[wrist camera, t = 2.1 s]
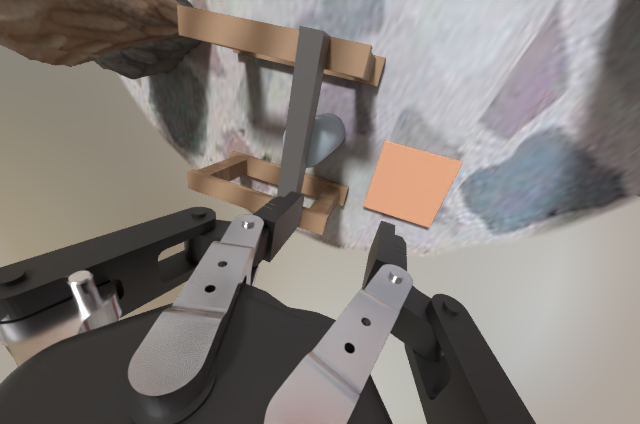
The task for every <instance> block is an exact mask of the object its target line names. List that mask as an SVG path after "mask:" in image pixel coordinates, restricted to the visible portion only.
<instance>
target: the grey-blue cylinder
mask: <svg viewBox="0 0 640 424" xmlns="http://www.w3.org/2000/svg"><path fill="white" fill-rule="evenodd" d="M285 133H286V130H285V132H284V135H283V141H282V143H283V148H284V141H285ZM344 138H345V127H344V124H343V122H342V121H341V119H340V118H339V117H337V116H336V115H334V114H328V113H327V114H322V115H318V116H315V122H314V127H313V132H312V138H311V143H310V148H309V154H308V159H307V165H306V168H309V167H313V166H315V165H317V164H318V163H320V162H321V161H322V160H323V159H324V158H326V157H327V156H328V155H329V154H330V153H332V152H333V151H334V150H335V149H336V148H338V147H339V146H340V145H341V144H342V142H343V140H344Z"/></svg>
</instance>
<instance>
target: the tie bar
mask: <svg viewBox="0 0 640 424" xmlns="http://www.w3.org/2000/svg"><path fill="white" fill-rule="evenodd" d="M329 41H330V36H329V35H328V34H327V33H326V32H324V31H321V30H316V29H312V28H307V27H302V26H300V29H299V36H298V44H297V51H296V58H295V66H294V73H293V81H292V88H291V96H290V103H289V111H288V118H287V126H286V133H285V141H284V148H283V155H282V163H281V170H280V178H279V185H278V193H277V197H279V196H282V197H285V196H286V195H287V194H288V193H289V192H291V191H293V192H296V193H299V194H301V191H302V186H303V181H304V175H305V170H306V165H307V159H308V154H309V148H310V143H311V138H312V132H313V127H314V122H315V116H316V111H317V106H318V100H319V95H320V90H321V84H322V79H323V74H324V68H325V63H326V58H327V52H328V47H329Z"/></svg>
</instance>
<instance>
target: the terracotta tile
mask: <svg viewBox="0 0 640 424" xmlns="http://www.w3.org/2000/svg"><path fill="white" fill-rule="evenodd" d="M461 165H462V161H459V160H455V159H452V158H448V157H444V156H441V155H437V154H433V153H430V152H426V151H422V150H419V149H415V148H411V147H408V146H404V145H400V144H397V143H393V142H389V141H386V140H385V143H384V146H383V148H382V151H381V154H380V157H379V160H378V163H377V166H376V169H375V172H374V175H373V178H372V181H371V184H370V187H369V190H368V193H367V196H366V199H365V202H364V205H363V207H366V208H369V209H373V210H376V211H379V212H382V213H385V214H388V215H391V216H394V217H397V218H400V219H403V220H407V221H410V222H413V223H416V224H419V225H422V226H425V227H428V228H429V227H430V225H431V223H432V221H433V219H434V217H435V216H436V214H437V212H438V210H439V208H440V206H441V204H442V202H443V200H444V198H445V196H446V194H447V192H448V190H449V188H450V186H451V184H452V182H453V180H454V178H455V176H456V175H457V173H458V171H459V169H460V167H461Z"/></svg>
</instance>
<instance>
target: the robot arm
mask: <svg viewBox="0 0 640 424" xmlns="http://www.w3.org/2000/svg"><path fill="white" fill-rule="evenodd" d="M303 202H304V195H302V194H299V193H296V192H293V191H291V192H289V193H288V194H287V195H286V196H285V197H282V196H279V197H275V198H273V199H271V200H270V201H269V202H268V203H266V204H265V205H264V206H263V207H261V208H260V209H259V210H258V211H256V212H255V213H254V214H253V215H251V214H244V215H239V216H237V217H235V218H234V219H233V221H232V222H230V221H222V220H216V213H215V212H214V211H213V210H212V209H209V208H206V207H193V208H189V209H186V210H183V211H180V212H176V213H173V214H170V215H167V216H163V217H161V218H157V219H154V220H151V221H148V222H145V223H141V224H138V225H135V226H132V227H128V228H126V229H122V230H119V231H116V232H112V233H109V234H106V235H103V236H100V237H97V238H93V239H90V240H87V241H84V242H81V243H77V244H75V245H71V246H68V247H65V248H62V249H58V250H55V251H52V252H49V253H46V254H42V255H39V256H36V257H33V258H30V259H26V260H23V261H20V262H17V263H14V264H10V265H8V266H4V267H1V268H0V343H1V344H2V345H4V346H5V347H6V348H7V349H8V351H9V352H10V353H11V355H12V356H13V358H14V360H15V362H16V364H17V366H18V368H16V369H15V370H14V371H13V372H12V373H11V374H10V375H9V376H8V377H7V378H6V379H5V380H4V381H3V382H2V383H1V384H0V424H393V423H392V421H391V419H390V417H389V415H388V412H387V410H386V408H385V406H384V403H383V402H382V399H381V397H380V395H379V393H378V390H377V388H376V386H375V384H374V382H373V379H372V377H371V375H370V373H371V371H372V369H373V367H374V364H375V363H376V360H377V358H378V356H379V354H380V352H381V350H382V348H383V346H384V344H385V342H386V340H387V338H388V336H389V334H390V333H391V334H393V335H394V336H395V337H397V338H398V339H399V340H401V341H402V342H404V343H405V350H406V354H407V357H408V360H409V364H410V367H411V370H412V373H413V377H414V381H415V384H416V387H417V391H418V394H419V398H420V401H421V404H422V407H423V411H424V414H425V417H426V421H427V424H536V423H535V421H534V420H533V418H532V417H531V415H530V413H529V412H528V410H527V408H526V407H525V405H524V403H523V402H522V400H521V398H520V397H519V395H518V393H517V392H516V390H515V388H514V387H513V385H512V384H511V382H510V380H509V379H508V377H507V375H506V374H505V372H504V370H503V369H502V367H501V366H500V364H499V362H498V361H497V359H496V357H495V356H494V354H493V353H492V351H491V349H490V347H489V346H488V344H487V342H486V341H485V339H484V338H483V336H482V335H481V333H480V331H479V329H478V328H477V326H476V324H475V323H474V321H473V319H472V318H471V316H470V314H469V313H468V311H467V310H466V309H465V307H464V306H463V305H462V304H461V303H460V302H458V301H457V300H455V299H454V298H452V297H450V296H448V295H444V294H436V295H434V296H433V297H432V299H431V298H430V297H428V296H426V295H425V294H423V293H421V292H420V291H418V290H417V289H416V288H415V287H414V286H413V280H412V277H411V276H410V275H409V273H407V256H406V255H407V254H406V243H405V241H404V239H403V238H402V237H400V236H397V235H395V225H393V224H390V223H387V222H384V221H381V223H380V225H379V228H378V230H377V233H376V235H375V238H374V241H373V243H372V246H371V249H370V252H369V256H368V261H367V266H366V271H365V276H364V281H363V286H362V289H360V291H359V292H358V293H357V294H356V296H355V297H354V298H353V299H352V301H351V302H350V303H349V305H348V306H347V307H346V308H345V310H344V311H343V312H342V314H341V315H340V316H339V317H338V319H337V320H334V319H332V318H329V317H327V316H324V315H322V314H320V313H317V312H312V311H307V310H301V309H295V308H290V307H287V306H285V305H284V304H282V303H281V302H280V301H278V300H277V299H275V298H274V297H273V296H271V295H270V294H269V293H267V292H266V291H263V290H261V289H258V288H256V287H254V286H253V285H254V282H255V279H256V276H257V273H258V269H259V263H260V262H261V261H262V260H265V261H268V262H270V261H271V260H272V259H273V257H274V256H275V255H276V254H277V252H278V251H279V250H280V249H281V247H282V246H283V245H284V243H285V242H286V241H287V240H288V238H289V237H290V236H291V235H292V233H293V232H294V231H295V229H296V228H297V226H298V224H299V221H300V217H301V212H302V207H303ZM182 242H184V247H185V250H184V251H181V252H179V253H177V254H175V255H173V256H170V257H168V258H166V259H163V260H161V261H159V262H158V256H159V255H160V253H161V252H162V251H164V250H165V249H167V248H170V247H172V246H175V245H177V244H179V243H182ZM186 281H187V283H186V285H185V286H184V288H183V289H182V291H181V292H180V294H179V296H178V297H177V299H176V300H175V302H174V303H171V304H168V305H165V306H162V307H159V308H156V309H153V310H150V311H147V312H144V313H141V314H138V315H135V316H132V317H129V318H126V319H123V320H120V321H118V320H119V318H121V317H123V316H124V315H126V314H128V313H130V312H132V311H134V310H135V309H137V308H139V307H141V306H143V305H144V304H146V303H148V302H150V301H152V300H153V299H155V298H157V297H159V296H161V295H163V294H164V293H166V292H168V291H170V290H172V289H173V288H175V287H177V286H179V285H181V284H182V283H184V282H186Z"/></svg>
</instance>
